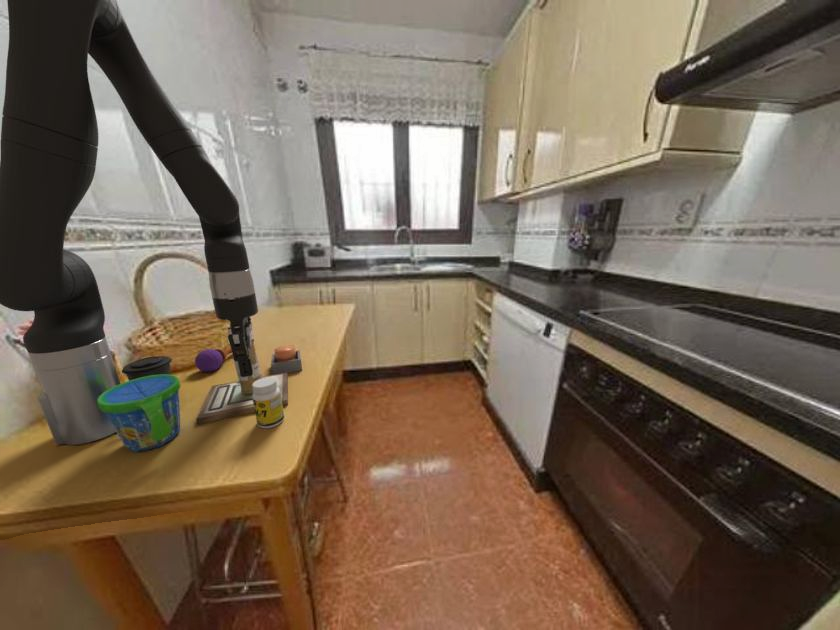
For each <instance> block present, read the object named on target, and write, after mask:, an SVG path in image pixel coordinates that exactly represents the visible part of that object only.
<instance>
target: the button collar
mask: <svg viewBox="0 0 840 630" xmlns="http://www.w3.org/2000/svg"><path fill="white" fill-rule="evenodd" d="M300 350H301V349H299V350H295V351H296V356H295V360H289V361H283V362H277V360H276V358H275V353H274V354H271V361H270V367H271V373H272V374H271V375H276V374H281V373H287V374H288V373H294V372H300V371H303V366H302V358H301V351H300Z"/></svg>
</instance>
